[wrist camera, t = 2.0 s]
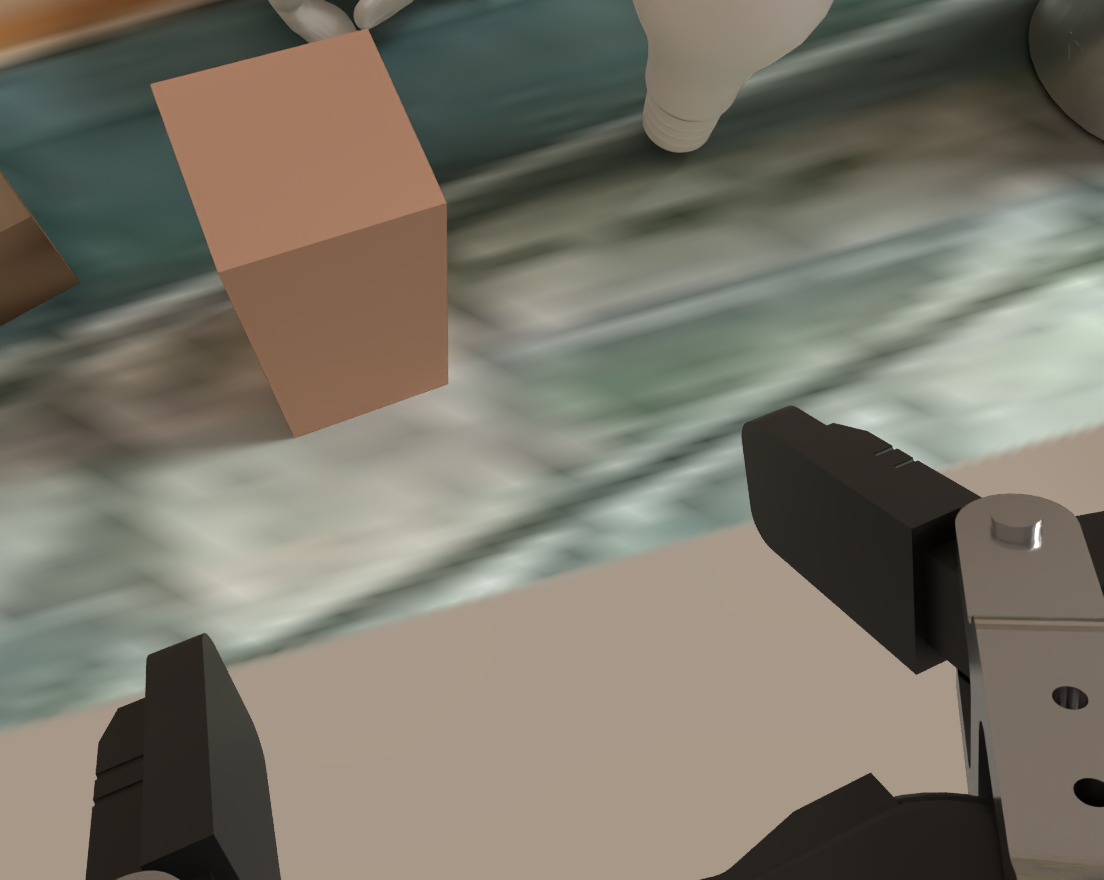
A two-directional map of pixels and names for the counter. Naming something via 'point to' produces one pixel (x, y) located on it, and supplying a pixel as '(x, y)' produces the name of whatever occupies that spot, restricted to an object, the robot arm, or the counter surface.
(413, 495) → the counter surface
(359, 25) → the white lumpy piece
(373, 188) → the terracotta block
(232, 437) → the counter surface
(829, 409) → the counter surface
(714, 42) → the lightbulb
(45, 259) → the walnut base block
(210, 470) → the counter surface
